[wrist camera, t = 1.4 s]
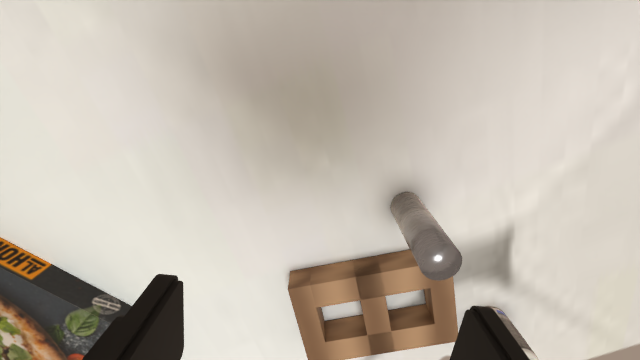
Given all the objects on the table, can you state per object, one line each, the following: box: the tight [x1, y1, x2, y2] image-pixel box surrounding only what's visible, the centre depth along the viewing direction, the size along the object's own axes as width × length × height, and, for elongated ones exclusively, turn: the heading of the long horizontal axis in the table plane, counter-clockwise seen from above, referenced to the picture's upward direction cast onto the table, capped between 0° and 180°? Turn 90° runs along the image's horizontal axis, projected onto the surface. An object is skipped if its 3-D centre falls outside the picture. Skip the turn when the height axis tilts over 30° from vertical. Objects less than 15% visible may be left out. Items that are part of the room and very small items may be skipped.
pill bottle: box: [490, 307, 538, 360], centre depth 34 cm, size 5×5×8 cm
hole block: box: [288, 250, 458, 360], centre depth 35 cm, size 16×10×3 cm, turn 102°
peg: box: [391, 192, 462, 281], centre depth 28 cm, size 3×3×10 cm
